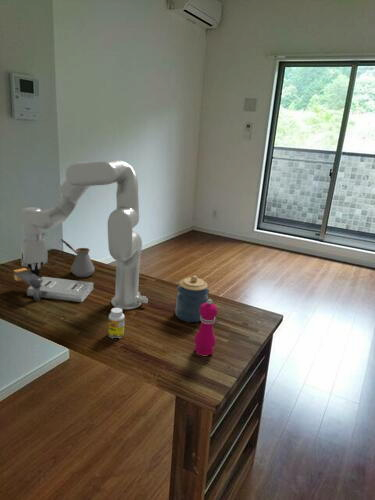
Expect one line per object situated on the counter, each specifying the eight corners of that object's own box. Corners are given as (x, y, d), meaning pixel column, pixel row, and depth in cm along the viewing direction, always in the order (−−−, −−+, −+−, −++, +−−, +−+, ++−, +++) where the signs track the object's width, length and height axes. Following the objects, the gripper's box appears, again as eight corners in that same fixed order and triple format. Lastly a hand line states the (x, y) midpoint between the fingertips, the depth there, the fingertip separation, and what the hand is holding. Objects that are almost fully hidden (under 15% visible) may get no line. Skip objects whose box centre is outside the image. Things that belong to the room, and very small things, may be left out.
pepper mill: (213, 346, 133) (219, 295, 126) (215, 358, 126) (221, 304, 120) (193, 345, 132) (198, 294, 126) (194, 357, 125) (199, 303, 119)
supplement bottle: (104, 335, 134) (105, 309, 131) (117, 329, 138) (117, 304, 135) (114, 341, 130) (115, 315, 127) (127, 335, 134) (128, 310, 131)
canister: (209, 311, 158) (213, 273, 152) (202, 326, 146) (206, 284, 140) (180, 306, 161) (183, 267, 155) (170, 319, 149) (173, 278, 143)
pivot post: (41, 299, 156) (41, 285, 154) (38, 301, 154) (38, 287, 152) (36, 298, 156) (35, 284, 154) (33, 300, 154) (32, 287, 152)
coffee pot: (99, 274, 187) (100, 245, 182) (82, 280, 177) (82, 251, 173) (70, 263, 197) (69, 236, 192) (52, 269, 187) (51, 240, 183)
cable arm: (45, 289, 154) (44, 278, 153) (33, 292, 150) (32, 281, 149) (25, 276, 164) (25, 266, 163) (14, 278, 161) (13, 269, 159)
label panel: (93, 288, 170) (93, 282, 169) (82, 302, 157) (82, 294, 155) (42, 282, 172) (42, 275, 170) (27, 295, 158) (26, 288, 157)
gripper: (47, 232, 165) (48, 271, 171) (11, 236, 155) (14, 277, 161) (54, 236, 160) (55, 276, 165) (18, 241, 150) (21, 283, 156)
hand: (35, 276), depth 163 cm, fingers closed
